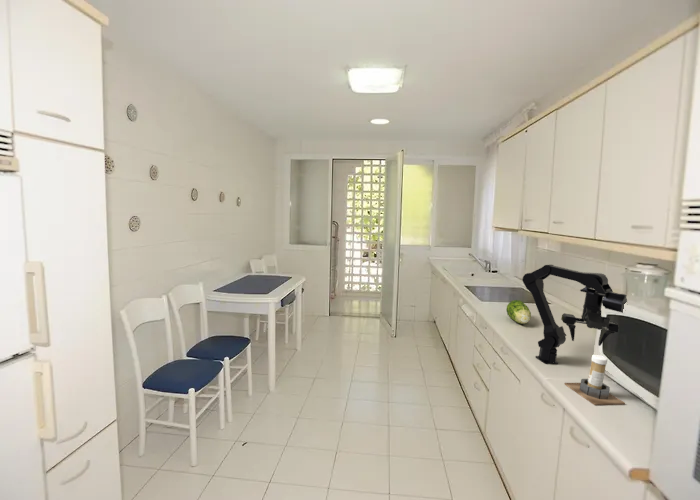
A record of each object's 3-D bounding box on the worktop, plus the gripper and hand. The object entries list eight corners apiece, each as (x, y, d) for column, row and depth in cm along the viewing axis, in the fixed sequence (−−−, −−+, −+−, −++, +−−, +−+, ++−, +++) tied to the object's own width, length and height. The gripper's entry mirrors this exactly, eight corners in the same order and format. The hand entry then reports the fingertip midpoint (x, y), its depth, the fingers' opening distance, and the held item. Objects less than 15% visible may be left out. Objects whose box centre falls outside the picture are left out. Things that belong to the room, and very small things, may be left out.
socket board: (564, 384, 139) (564, 382, 139) (592, 383, 141) (592, 382, 141) (594, 405, 125) (595, 403, 125) (624, 404, 127) (625, 402, 127)
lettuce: (512, 327, 202) (515, 307, 200) (503, 315, 222) (505, 297, 221) (534, 329, 200) (538, 309, 199) (523, 318, 220) (526, 299, 219)
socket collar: (574, 386, 137) (575, 378, 136) (594, 386, 138) (595, 378, 138) (593, 399, 128) (594, 391, 128) (614, 398, 130) (615, 390, 129)
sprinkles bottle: (587, 387, 136) (593, 353, 135) (602, 392, 133) (608, 357, 131) (584, 391, 133) (590, 356, 131) (599, 397, 130) (606, 360, 128)
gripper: (570, 306, 141) (563, 345, 143) (628, 315, 135) (620, 355, 137) (564, 299, 151) (558, 335, 153) (618, 307, 145) (610, 345, 147)
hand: (585, 343), depth 147 cm, fingers open, 9 cm apart
